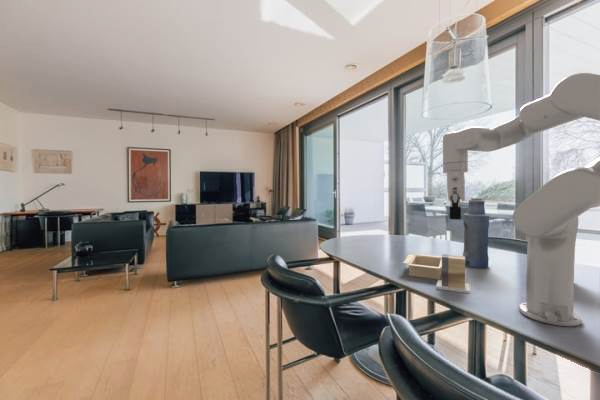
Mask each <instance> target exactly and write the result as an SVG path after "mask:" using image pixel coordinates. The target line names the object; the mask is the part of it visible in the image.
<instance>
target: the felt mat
mask: <svg viewBox="0 0 600 400" xmlns="http://www.w3.org/2000/svg"><path fill="white" fill-rule="evenodd" d="M435 288H436V290H437V289H438V290H443V291H444V290H446V291H452V292H457V293H465V294H471V288H470V283H466V282H465V289H463V288H456V287H449V286H442V279H440V280H439V279H437V282H436V286H435Z"/></svg>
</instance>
